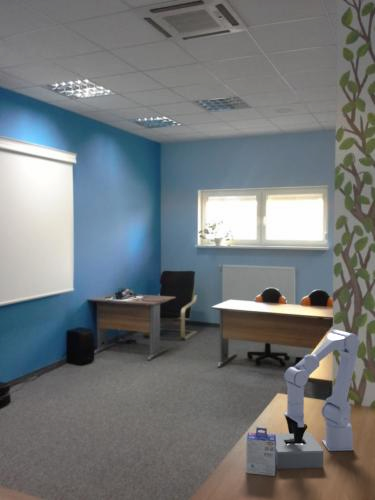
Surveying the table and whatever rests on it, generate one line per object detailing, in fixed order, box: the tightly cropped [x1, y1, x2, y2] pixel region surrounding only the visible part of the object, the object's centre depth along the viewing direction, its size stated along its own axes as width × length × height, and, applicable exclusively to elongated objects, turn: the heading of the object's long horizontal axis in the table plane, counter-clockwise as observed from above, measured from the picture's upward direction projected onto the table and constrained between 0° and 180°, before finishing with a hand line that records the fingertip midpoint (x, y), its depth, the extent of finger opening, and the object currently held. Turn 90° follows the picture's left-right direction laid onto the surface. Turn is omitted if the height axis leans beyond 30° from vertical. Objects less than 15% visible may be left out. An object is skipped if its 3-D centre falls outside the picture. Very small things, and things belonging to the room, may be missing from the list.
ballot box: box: [272, 432, 324, 470], centre depth 169 cm, size 16×14×6 cm
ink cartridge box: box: [246, 427, 277, 477], centre depth 160 cm, size 10×6×14 cm, turn 78°
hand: (295, 438), depth 169 cm, fingers open, 7 cm apart
